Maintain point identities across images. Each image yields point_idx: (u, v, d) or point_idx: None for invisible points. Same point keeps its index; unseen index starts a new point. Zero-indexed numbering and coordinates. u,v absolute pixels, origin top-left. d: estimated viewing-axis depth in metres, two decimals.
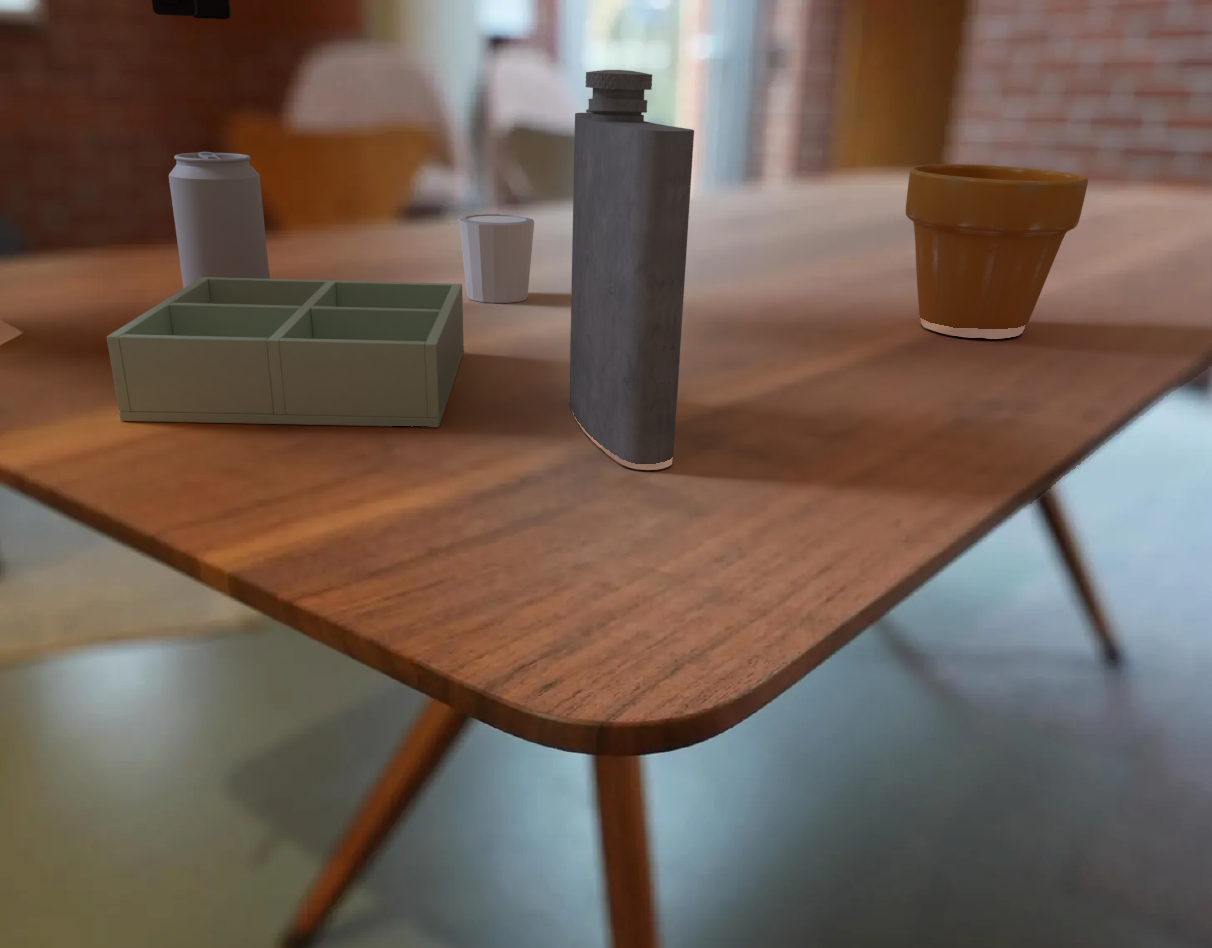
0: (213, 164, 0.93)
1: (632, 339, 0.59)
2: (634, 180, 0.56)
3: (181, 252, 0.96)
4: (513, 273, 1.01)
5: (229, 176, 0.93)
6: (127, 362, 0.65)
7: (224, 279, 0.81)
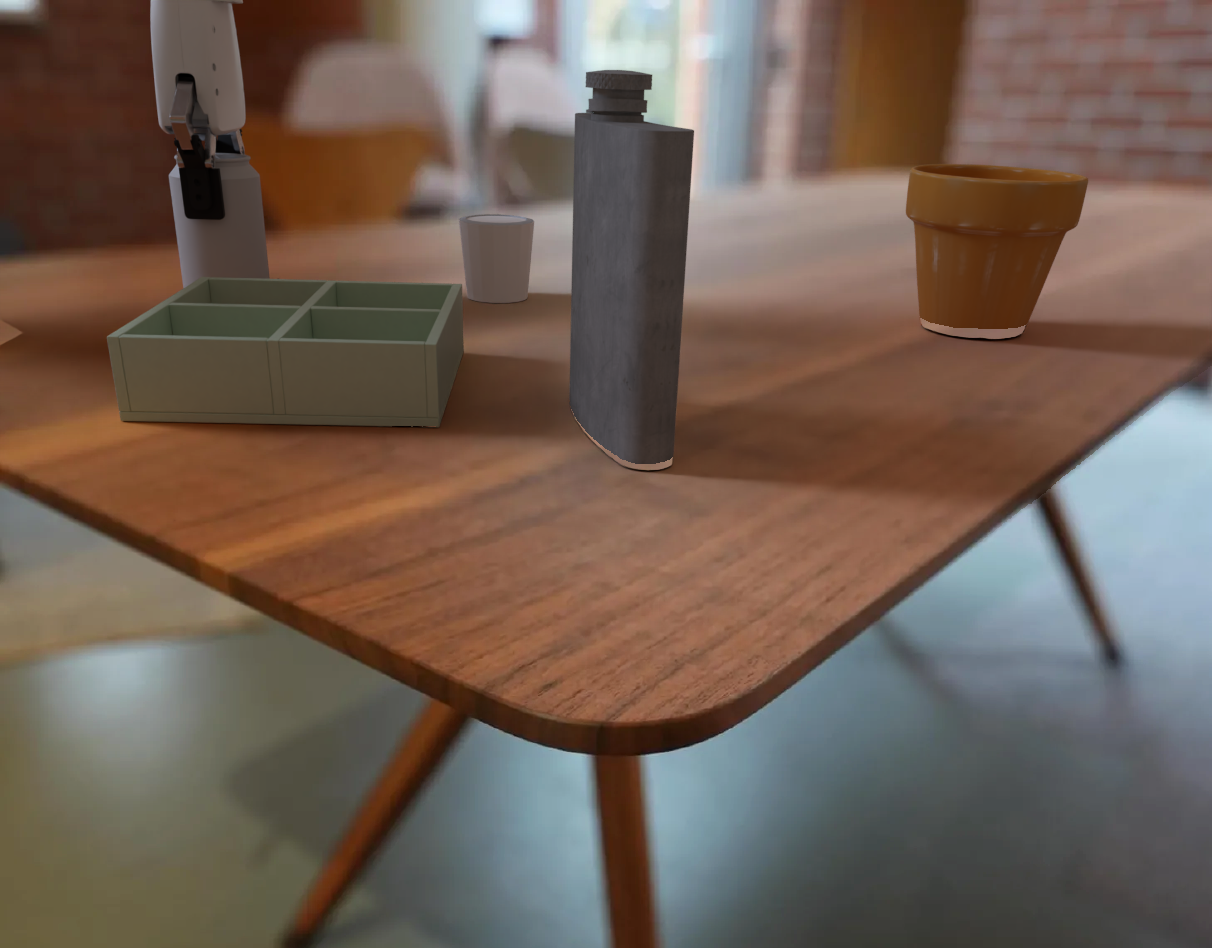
0: None
1: (632, 339, 0.59)
2: (634, 180, 0.56)
3: (181, 252, 0.96)
4: (513, 273, 1.01)
5: (229, 176, 0.93)
6: (127, 362, 0.65)
7: (224, 279, 0.81)
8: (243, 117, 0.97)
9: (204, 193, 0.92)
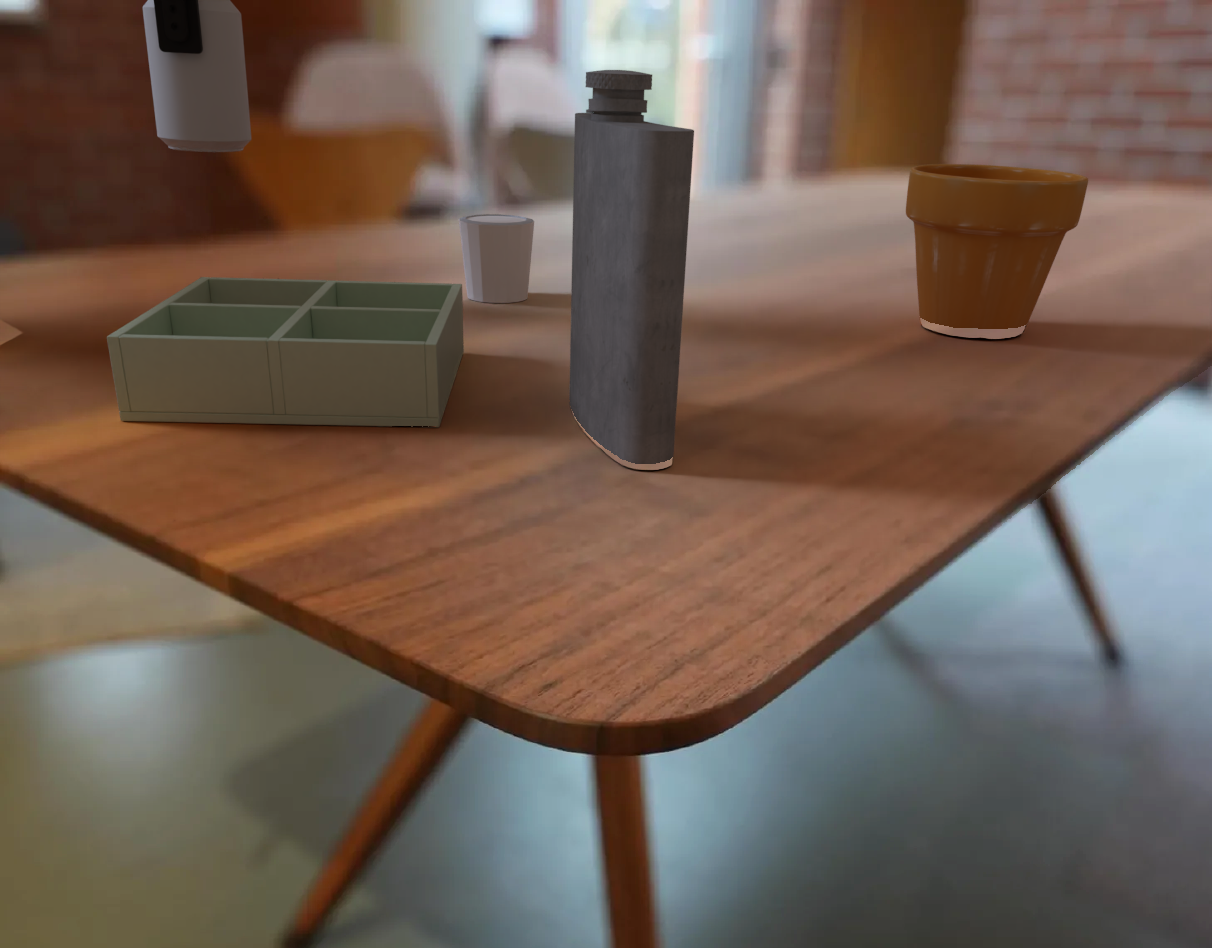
0: None
1: (632, 339, 0.59)
2: (634, 180, 0.56)
3: (155, 94, 0.90)
4: (513, 273, 1.01)
5: (208, 7, 0.87)
6: (127, 362, 0.65)
7: (224, 279, 0.81)
8: None
9: (180, 22, 0.85)
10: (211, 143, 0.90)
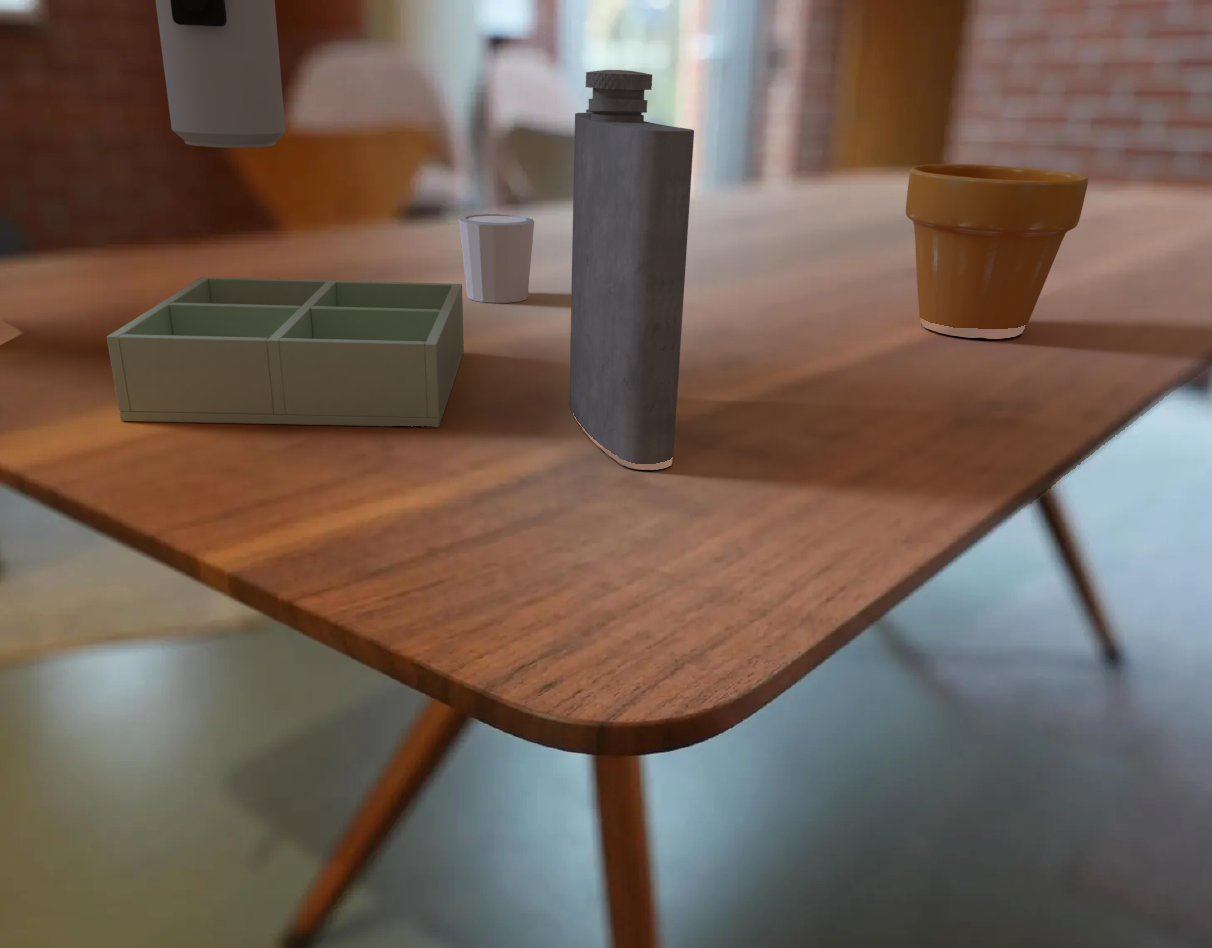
0: None
1: (632, 339, 0.59)
2: (634, 180, 0.56)
3: (169, 77, 0.73)
4: (513, 273, 1.01)
5: None
6: (127, 362, 0.65)
7: (224, 279, 0.81)
8: None
9: None
10: (238, 137, 0.74)
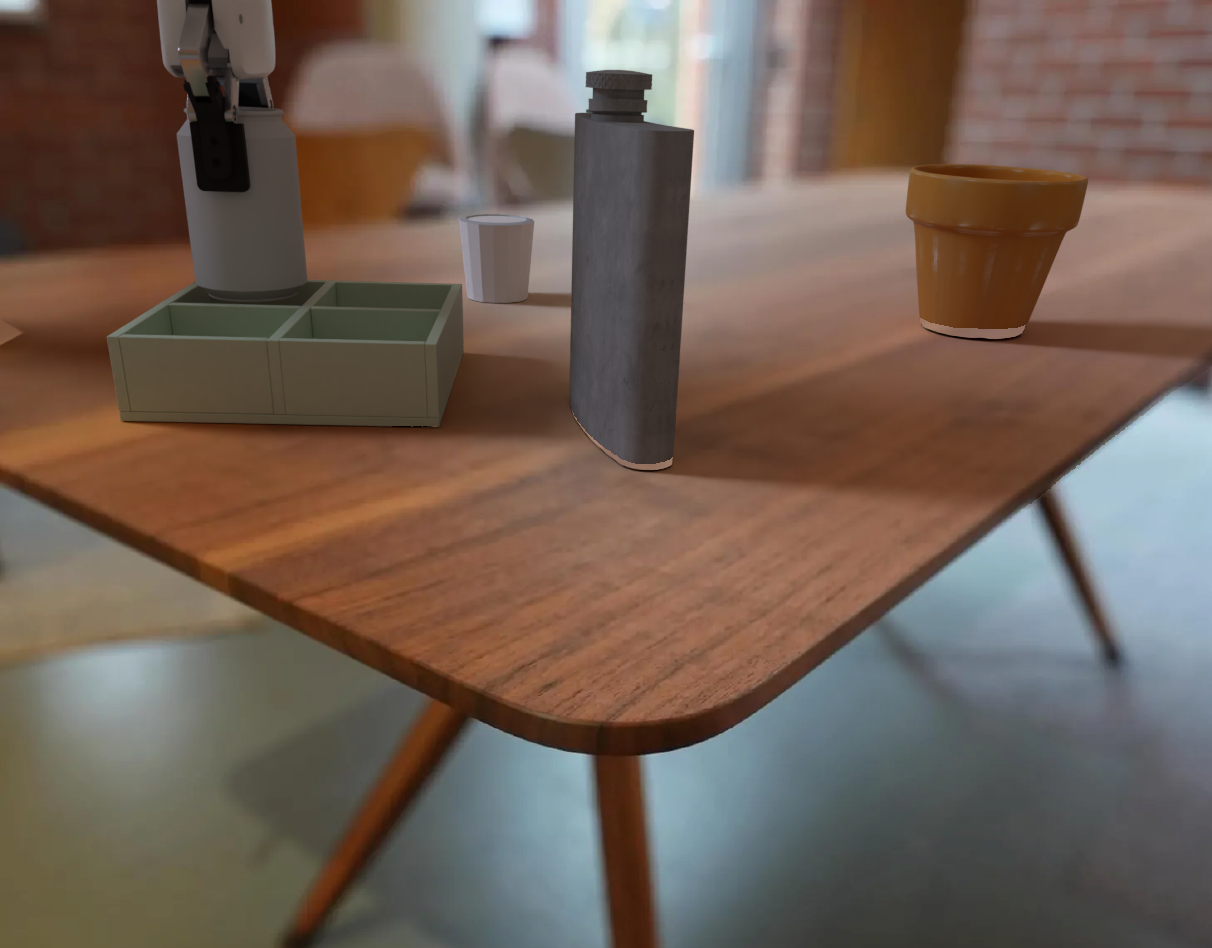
0: None
1: (632, 339, 0.59)
2: (634, 180, 0.56)
3: (193, 236, 0.74)
4: (513, 273, 1.01)
5: (256, 134, 0.71)
6: (127, 362, 0.65)
7: None
8: (273, 60, 0.74)
9: (223, 156, 0.69)
10: (261, 293, 0.75)
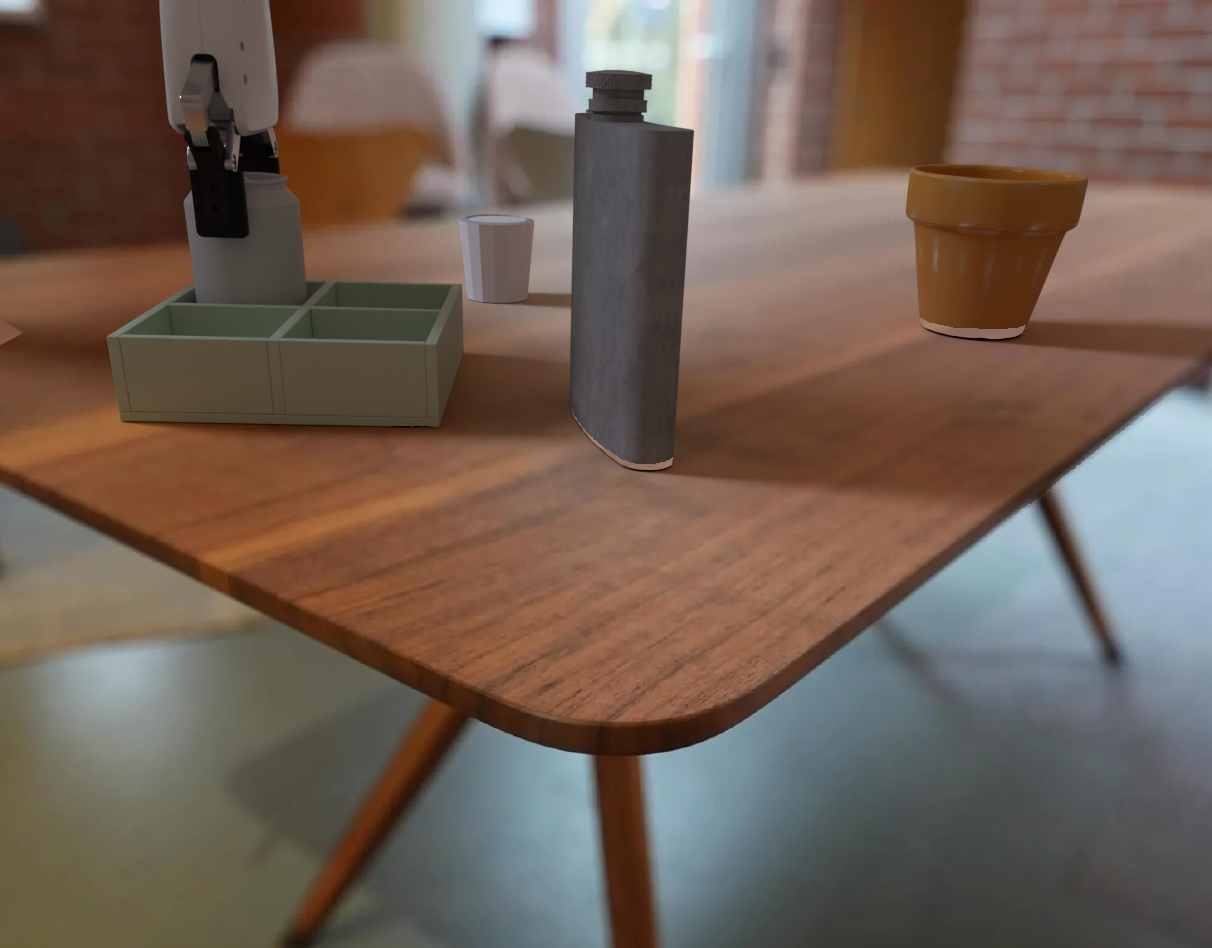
0: None
1: (632, 339, 0.59)
2: (634, 180, 0.56)
3: (199, 299, 0.76)
4: (513, 273, 1.01)
5: (261, 203, 0.72)
6: (127, 362, 0.65)
7: None
8: (276, 113, 0.76)
9: (223, 204, 0.70)
10: None
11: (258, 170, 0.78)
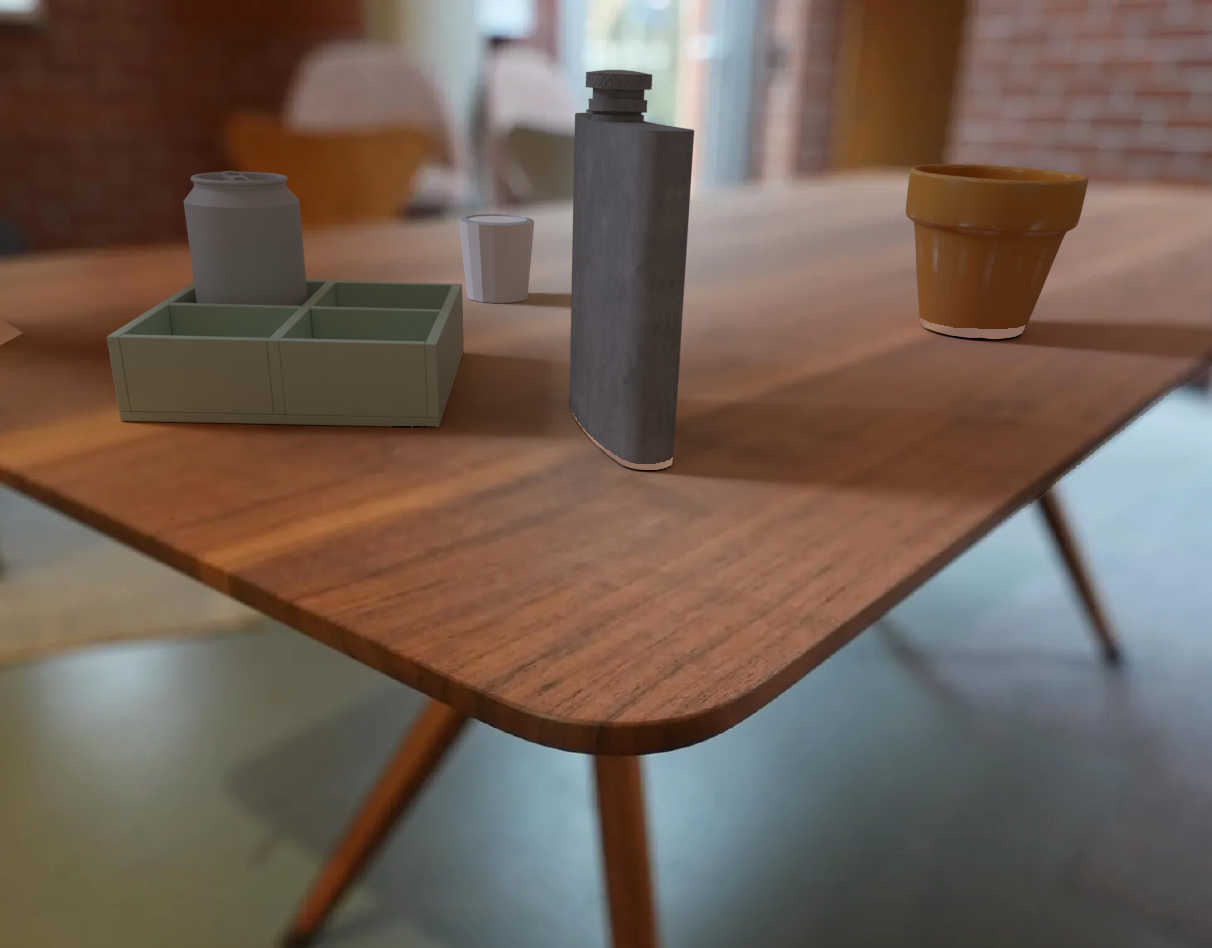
0: (241, 188, 0.72)
1: (632, 339, 0.59)
2: (634, 180, 0.56)
3: (199, 299, 0.76)
4: (513, 273, 1.01)
5: (262, 203, 0.72)
6: (127, 362, 0.65)
7: None
8: None
9: None
10: None
11: None
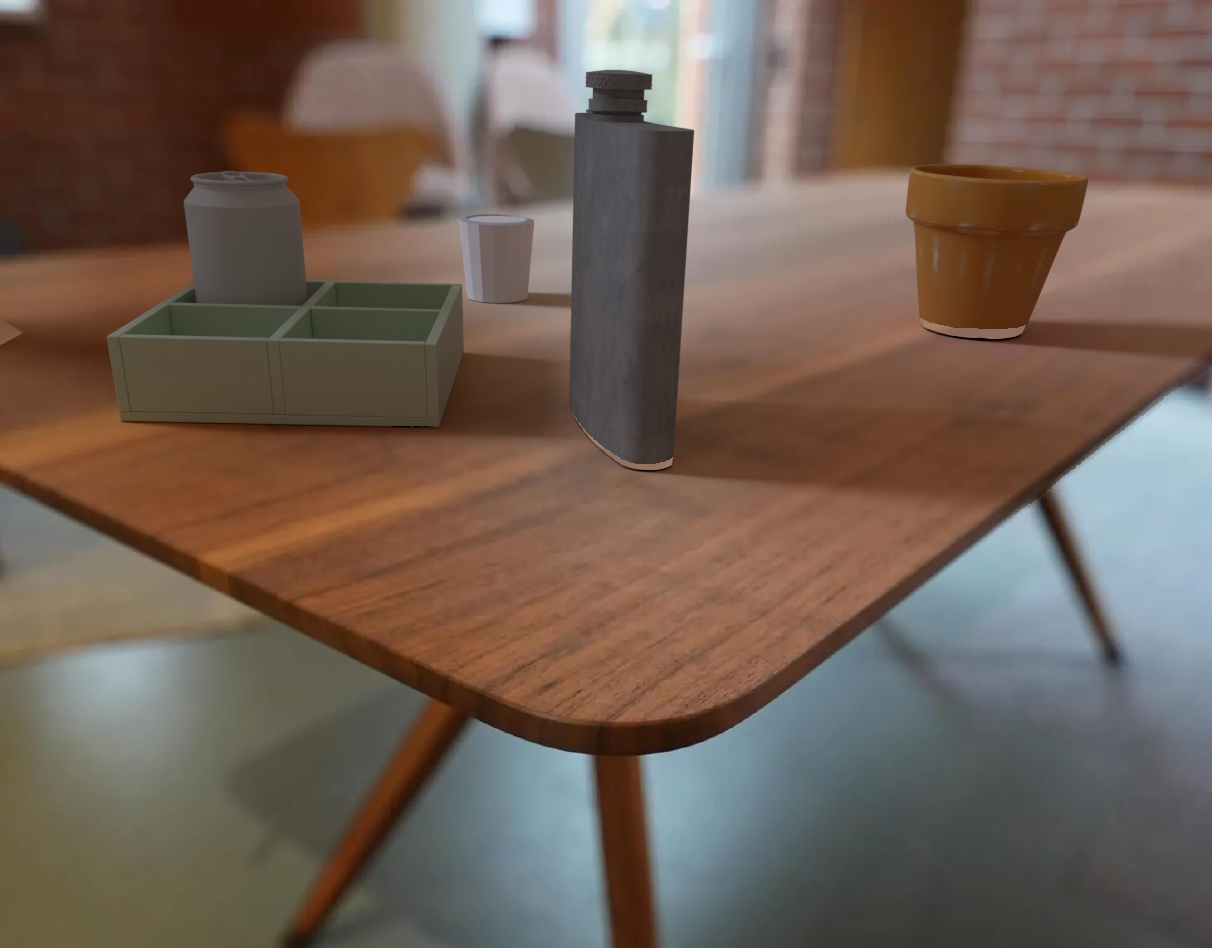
0: (241, 188, 0.72)
1: (632, 339, 0.59)
2: (634, 180, 0.56)
3: (199, 299, 0.76)
4: (513, 273, 1.01)
5: (262, 203, 0.72)
6: (127, 362, 0.65)
7: None
8: None
9: None
10: None
11: None
